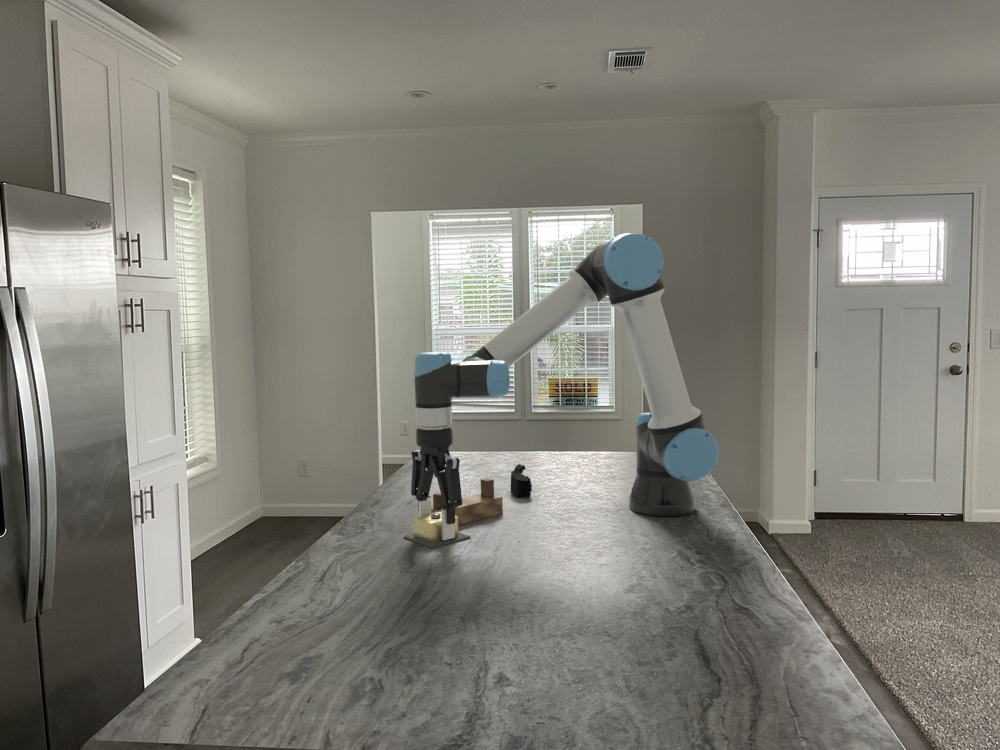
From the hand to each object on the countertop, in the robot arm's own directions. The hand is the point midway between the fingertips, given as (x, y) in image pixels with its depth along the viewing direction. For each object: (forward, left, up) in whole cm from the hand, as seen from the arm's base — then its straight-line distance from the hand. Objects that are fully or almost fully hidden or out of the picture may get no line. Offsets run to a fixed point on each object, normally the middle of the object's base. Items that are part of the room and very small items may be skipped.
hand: (436, 534), depth 156 cm
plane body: (+7, -13, -1) cm, 15 cm away
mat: (0, 0, -1) cm, 1 cm away
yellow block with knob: (0, 0, 0) cm, 0 cm away
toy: (+16, -40, -1) cm, 43 cm away
